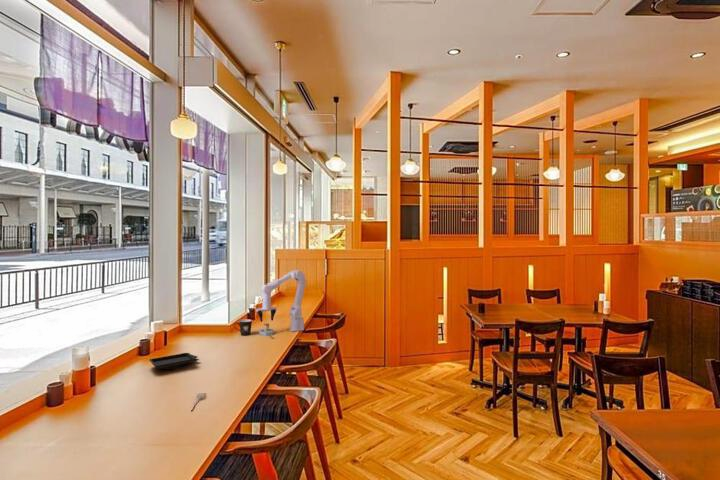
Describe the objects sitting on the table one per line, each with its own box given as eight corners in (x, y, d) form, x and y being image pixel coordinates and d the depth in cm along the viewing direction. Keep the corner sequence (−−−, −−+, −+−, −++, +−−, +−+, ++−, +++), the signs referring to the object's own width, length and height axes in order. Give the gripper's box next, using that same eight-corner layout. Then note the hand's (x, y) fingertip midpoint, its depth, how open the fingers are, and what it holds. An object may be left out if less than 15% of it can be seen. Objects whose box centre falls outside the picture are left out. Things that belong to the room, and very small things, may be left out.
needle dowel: (268, 333, 299) (268, 323, 299) (269, 334, 296) (269, 324, 296) (263, 333, 297) (263, 323, 297) (265, 334, 295) (265, 324, 294)
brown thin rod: (268, 335, 292) (268, 334, 292) (269, 335, 292) (269, 334, 292) (272, 339, 283) (272, 337, 283) (274, 338, 283) (274, 337, 283)
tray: (171, 357, 243) (170, 348, 243) (209, 358, 241) (209, 349, 240) (138, 374, 213) (138, 364, 213) (181, 377, 211) (181, 366, 211)
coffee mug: (253, 333, 298) (253, 319, 297) (249, 336, 289) (249, 322, 289) (237, 332, 299) (237, 319, 299) (233, 336, 290) (233, 321, 290)
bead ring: (271, 331, 304) (271, 328, 304) (275, 334, 295) (275, 331, 295) (257, 333, 299) (257, 329, 299) (261, 336, 290) (261, 332, 290)
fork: (184, 419, 170) (184, 413, 169) (201, 393, 190) (201, 387, 190) (191, 419, 170) (191, 413, 170) (207, 393, 190) (207, 387, 190)
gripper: (274, 300, 303) (274, 318, 304) (254, 301, 296) (254, 320, 297) (277, 301, 297) (277, 320, 298) (257, 303, 290) (257, 322, 291)
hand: (266, 321), depth 297 cm, fingers open, 7 cm apart
